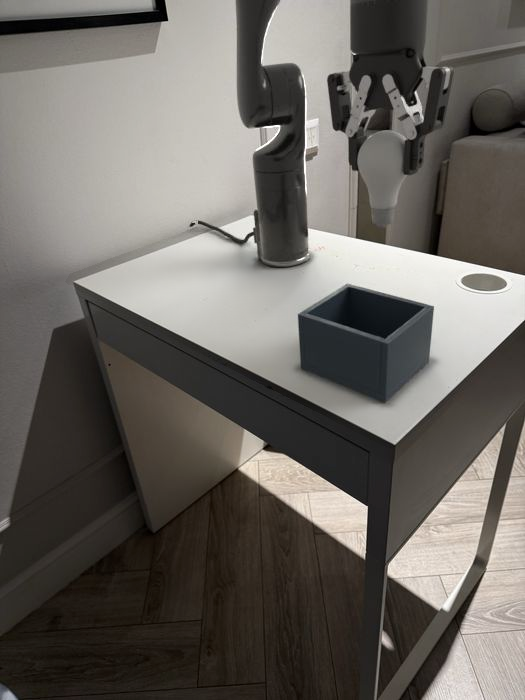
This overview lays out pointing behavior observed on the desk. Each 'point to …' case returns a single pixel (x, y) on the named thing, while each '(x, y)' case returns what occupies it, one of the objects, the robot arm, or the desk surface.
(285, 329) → the desk surface
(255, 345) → the desk surface
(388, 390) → the bin
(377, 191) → the lightbulb
